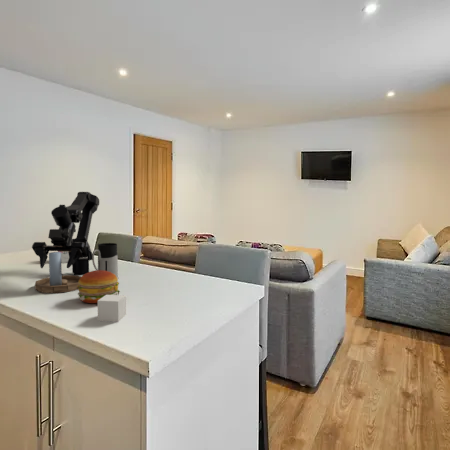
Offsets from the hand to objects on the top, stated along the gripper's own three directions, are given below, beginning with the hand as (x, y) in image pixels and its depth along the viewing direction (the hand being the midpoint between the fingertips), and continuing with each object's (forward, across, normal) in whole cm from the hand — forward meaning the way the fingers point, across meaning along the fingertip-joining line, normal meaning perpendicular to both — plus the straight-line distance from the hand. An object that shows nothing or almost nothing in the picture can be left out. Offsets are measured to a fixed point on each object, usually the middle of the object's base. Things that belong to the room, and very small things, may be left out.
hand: (54, 267), depth 126 cm
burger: (+14, +19, -2) cm, 24 cm away
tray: (+2, 0, +10) cm, 10 cm away
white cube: (+27, +28, -14) cm, 41 cm away
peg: (+5, 0, +6) cm, 8 cm away
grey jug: (-4, +14, +17) cm, 22 cm away
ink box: (-34, -17, +48) cm, 61 cm away
